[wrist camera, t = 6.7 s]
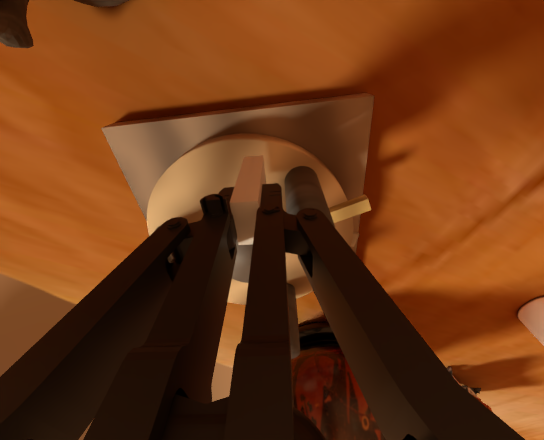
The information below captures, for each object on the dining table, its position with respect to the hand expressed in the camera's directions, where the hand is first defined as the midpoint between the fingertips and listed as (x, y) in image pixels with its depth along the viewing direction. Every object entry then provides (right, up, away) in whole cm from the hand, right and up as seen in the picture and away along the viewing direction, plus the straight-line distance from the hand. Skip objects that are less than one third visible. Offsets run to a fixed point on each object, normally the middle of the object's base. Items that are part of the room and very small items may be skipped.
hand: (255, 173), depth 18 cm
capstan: (-1, -4, +8) cm, 9 cm away
